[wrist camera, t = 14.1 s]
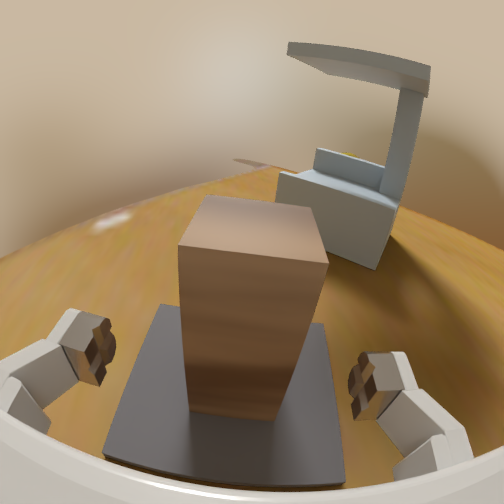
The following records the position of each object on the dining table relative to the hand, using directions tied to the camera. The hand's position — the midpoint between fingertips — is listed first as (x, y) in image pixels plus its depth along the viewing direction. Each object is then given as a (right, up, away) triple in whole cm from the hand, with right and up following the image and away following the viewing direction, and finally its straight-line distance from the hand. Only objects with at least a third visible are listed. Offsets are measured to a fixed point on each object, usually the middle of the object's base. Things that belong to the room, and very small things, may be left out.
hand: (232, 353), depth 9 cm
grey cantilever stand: (+11, +5, +27) cm, 29 cm away
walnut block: (0, -4, +7) cm, 8 cm away
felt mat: (-1, -5, +7) cm, 9 cm away
